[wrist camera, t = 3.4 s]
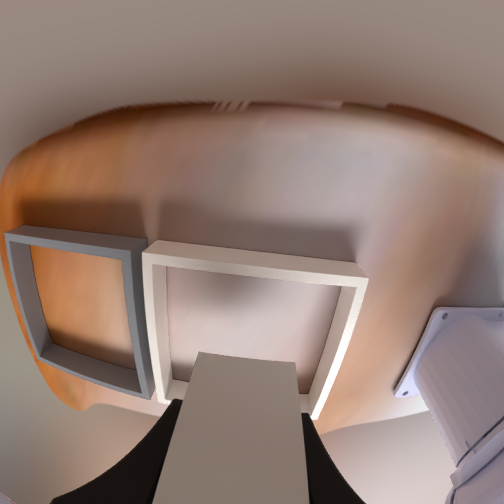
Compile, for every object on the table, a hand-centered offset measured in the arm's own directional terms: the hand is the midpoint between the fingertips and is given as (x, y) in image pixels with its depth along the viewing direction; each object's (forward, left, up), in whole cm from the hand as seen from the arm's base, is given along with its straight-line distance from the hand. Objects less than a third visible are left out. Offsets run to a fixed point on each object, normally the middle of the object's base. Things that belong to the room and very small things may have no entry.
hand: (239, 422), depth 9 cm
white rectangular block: (0, 0, -2) cm, 2 cm away
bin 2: (0, 0, -6) cm, 6 cm away
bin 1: (+11, 0, -6) cm, 13 cm away
